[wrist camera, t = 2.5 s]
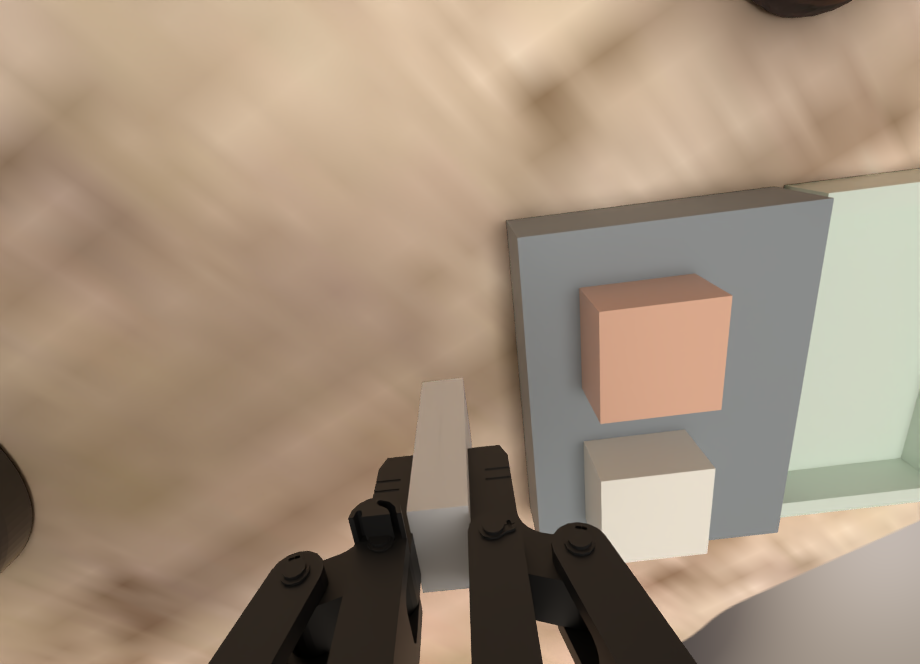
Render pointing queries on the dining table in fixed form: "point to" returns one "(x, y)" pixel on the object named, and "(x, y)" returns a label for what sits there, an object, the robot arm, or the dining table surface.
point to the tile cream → (650, 494)
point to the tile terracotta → (654, 347)
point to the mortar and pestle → (799, 7)
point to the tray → (862, 353)
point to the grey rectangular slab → (748, 353)
